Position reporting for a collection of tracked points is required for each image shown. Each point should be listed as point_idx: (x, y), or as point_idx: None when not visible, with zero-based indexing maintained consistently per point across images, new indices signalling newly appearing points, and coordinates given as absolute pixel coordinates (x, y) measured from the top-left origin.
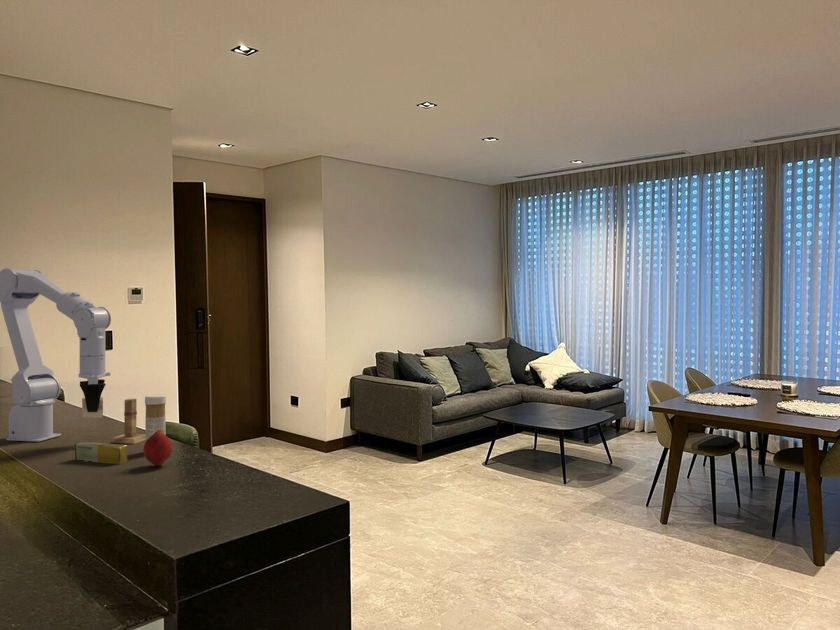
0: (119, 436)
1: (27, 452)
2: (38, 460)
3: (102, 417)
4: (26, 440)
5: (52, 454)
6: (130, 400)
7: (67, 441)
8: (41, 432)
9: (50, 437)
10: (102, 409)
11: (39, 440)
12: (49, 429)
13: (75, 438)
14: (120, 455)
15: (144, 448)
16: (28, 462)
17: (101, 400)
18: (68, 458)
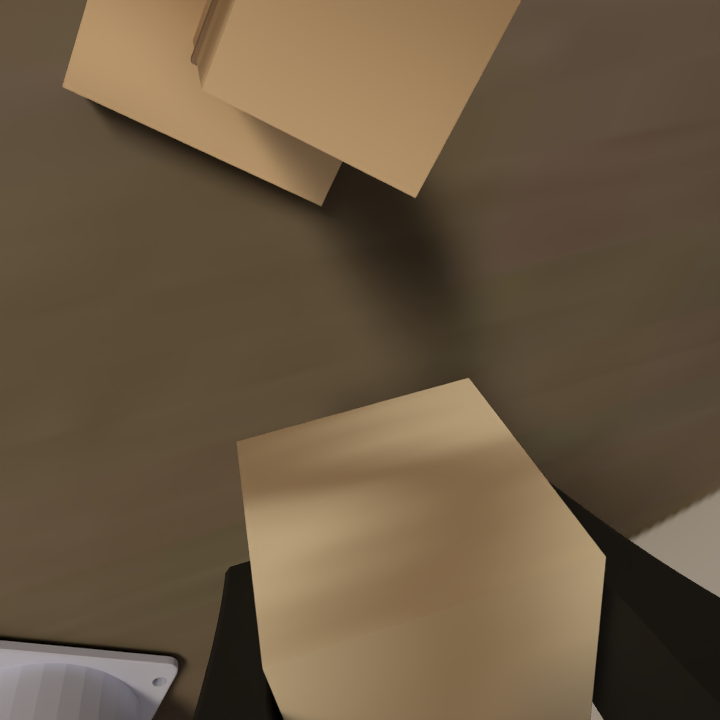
0: (253, 146)
1: None
2: (666, 482)
3: (468, 382)
4: (152, 717)
5: (557, 471)
6: (506, 12)
7: (169, 528)
8: (116, 717)
9: (72, 652)
10: (514, 445)
11: (173, 663)
12: (53, 715)
13: (50, 519)
14: None
15: None
16: (683, 505)
17: (595, 558)
18: (704, 362)
